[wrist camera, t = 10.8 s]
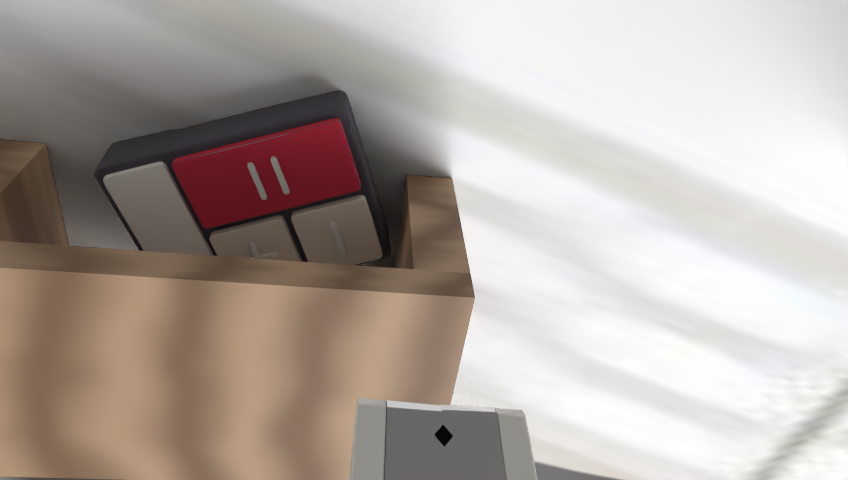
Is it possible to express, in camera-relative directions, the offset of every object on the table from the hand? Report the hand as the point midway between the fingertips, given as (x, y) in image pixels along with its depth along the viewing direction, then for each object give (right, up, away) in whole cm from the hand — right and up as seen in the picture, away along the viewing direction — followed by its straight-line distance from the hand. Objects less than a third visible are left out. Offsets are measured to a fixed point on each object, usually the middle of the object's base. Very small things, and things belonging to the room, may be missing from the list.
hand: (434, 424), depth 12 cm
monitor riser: (-13, +2, +33) cm, 36 cm away
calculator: (-11, +7, +31) cm, 33 cm away
